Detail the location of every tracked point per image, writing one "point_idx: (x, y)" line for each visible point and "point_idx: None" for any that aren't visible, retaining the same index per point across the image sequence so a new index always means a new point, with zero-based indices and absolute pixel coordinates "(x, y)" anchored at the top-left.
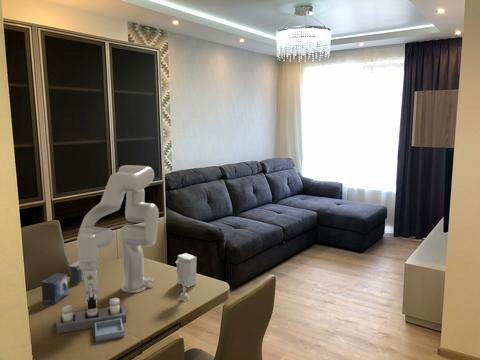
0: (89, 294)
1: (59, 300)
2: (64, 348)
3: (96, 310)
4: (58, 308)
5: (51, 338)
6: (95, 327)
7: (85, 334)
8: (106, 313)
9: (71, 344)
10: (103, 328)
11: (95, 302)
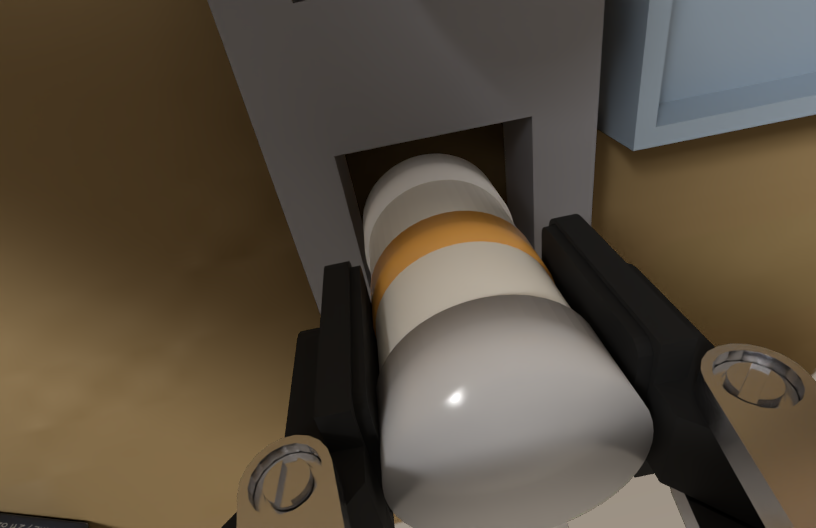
0: (417, 517)
1: (9, 520)
2: (796, 308)
3: (481, 189)
4: (146, 486)
5: None
6: (761, 119)
7: (669, 202)
8: (451, 6)
9: (771, 276)
10: (682, 15)
11: (636, 285)
